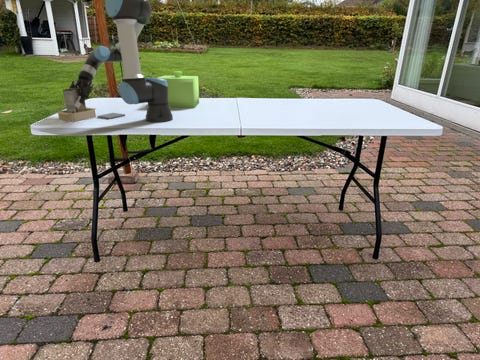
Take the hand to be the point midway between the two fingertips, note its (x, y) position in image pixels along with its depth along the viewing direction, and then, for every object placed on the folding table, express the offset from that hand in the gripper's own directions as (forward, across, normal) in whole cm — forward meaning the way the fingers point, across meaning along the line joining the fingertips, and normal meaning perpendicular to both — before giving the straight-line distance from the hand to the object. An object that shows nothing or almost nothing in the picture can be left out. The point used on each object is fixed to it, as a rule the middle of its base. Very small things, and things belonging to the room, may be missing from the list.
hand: (71, 106), depth 194 cm
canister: (-41, -33, -52) cm, 74 cm away
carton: (+3, 0, -8) cm, 8 cm away
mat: (-5, -15, -15) cm, 22 cm away
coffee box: (+2, 0, -7) cm, 8 cm away
